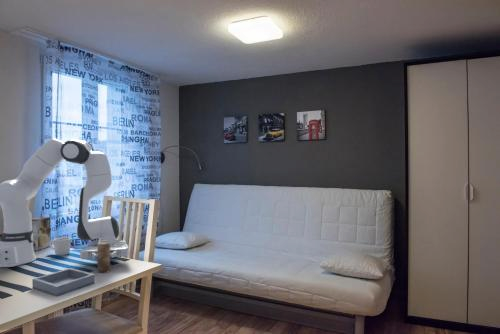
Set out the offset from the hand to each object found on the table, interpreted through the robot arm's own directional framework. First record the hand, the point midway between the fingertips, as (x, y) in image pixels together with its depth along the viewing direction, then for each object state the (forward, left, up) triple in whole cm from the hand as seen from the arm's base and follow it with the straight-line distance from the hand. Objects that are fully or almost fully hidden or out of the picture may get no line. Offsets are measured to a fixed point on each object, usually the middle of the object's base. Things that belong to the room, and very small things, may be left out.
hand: (103, 256), depth 151 cm
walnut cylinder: (0, +1, -6) cm, 7 cm away
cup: (-24, +35, -7) cm, 43 cm away
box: (-13, -13, -7) cm, 20 cm away
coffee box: (-37, +51, -7) cm, 63 cm away
